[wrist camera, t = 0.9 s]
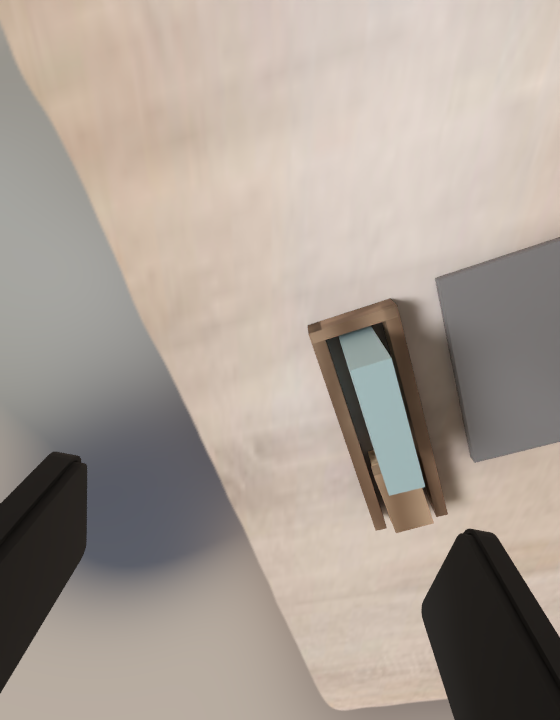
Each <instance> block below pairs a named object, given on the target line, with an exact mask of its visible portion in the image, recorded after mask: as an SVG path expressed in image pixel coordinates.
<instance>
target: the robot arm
mask: <svg viewBox="0 0 560 720" xmlns="http://www.w3.org/2000/svg"><path fill="white" fill-rule="evenodd" d="M86 525H87V465H86V464H84V463H81V458H80V457H79V456H76V455H71V454H65V453H60V452H52V453H51V454H49V455H48V456H47V457H46V458H45V459H44V460H43V461H42V462H41V463H40V464H39V465H38V466H37V468H36V469H34V470H33V471H32V472H31V473H30V474H29V475H28V476H27V477H26V478H25V479H24V481H23V482H22V483H21V484H20V485H19V486H18V487H17V488H16V489H15V490H14V491H13V492H12V493H11V494H10V495H9V496H8V497H7V498H6V499H5V500H4V501H3V502H2V503H0V693H1V691H2V690H3V688H4V686H5V685H6V683H7V681H8V679H9V678H10V676H11V675H12V673H13V671H14V670H15V668H16V666H17V665H18V663H19V661H20V660H21V658H22V656H23V655H24V653H25V651H26V650H27V648H28V646H29V645H30V643H31V642H32V640H33V638H34V636H35V635H36V633H37V632H38V630H39V628H40V626H41V625H42V623H43V622H44V620H45V618H46V617H47V615H48V613H49V612H50V610H51V608H52V607H53V605H54V603H55V602H56V600H57V598H58V597H59V595H60V593H61V592H62V590H63V588H64V587H65V585H66V583H67V582H68V580H69V578H70V577H71V575H72V574H73V572H74V570H75V568H76V567H77V565H78V564H79V562H80V560H81V558H82V556H83V554H84V551H85V548H86V533H87V526H86ZM422 618H423V622H424V625H425V628H426V631H427V634H428V637H429V640H430V644H431V647H432V650H433V653H434V656H435V659H436V662H437V666H438V669H439V672H440V675H441V678H442V681H443V685H444V688H445V691H446V694H447V697H448V700H449V703H450V707H451V709H452V713H453V716H454V719H455V720H560V637H559V636H558V634H557V632H556V631H555V629H554V628H553V626H552V624H551V623H550V621H549V620H548V618H547V616H546V615H545V613H544V612H543V610H542V608H541V607H540V605H539V604H538V602H537V600H536V599H535V597H534V595H533V594H532V592H531V591H530V589H529V587H528V586H527V584H526V583H525V581H524V579H523V578H522V576H521V575H520V573H519V571H518V570H517V568H516V567H515V565H514V563H513V562H512V560H511V559H510V557H509V555H508V554H507V552H506V551H505V549H504V547H503V546H502V544H501V543H500V541H499V539H498V538H497V537H496V535H495V534H493V533H491V532H485V531H480V530H474V529H467V530H465V532H464V533H463V534H462V533H461V534H459V535H458V536H457V538H456V540H455V542H454V544H453V546H452V547H451V549H450V551H449V553H448V555H447V557H446V559H445V561H444V563H443V565H442V566H441V568H440V570H439V572H438V574H437V576H436V578H435V580H434V582H433V584H432V585H431V587H430V589H429V591H428V593H427V595H426V597H425V599H424V601H423V603H422Z"/></svg>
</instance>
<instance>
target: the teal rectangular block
mask: <svg viewBox="0 0 560 720" xmlns="http://www.w3.org/2000/svg"><path fill="white" fill-rule="evenodd" d="M338 337H339V340H340V343H341V347H342V350H343V353H344V356H345V359H346V363H347V366H348V369H349V372H350V375H351V379H352V382H353V385H354V388H355V391H356V395H357V398H358V401H359V404H360V407H361V411H362V414H363V417H364V420H365V424H366V427H367V430H368V433H369V436H370V439H371V442H372V445H373V448H374V452H375V455H376V458H377V461H378V464H379V467H380V470H381V473H382V476H383V479H384V482H385V485H386V488H387V491H388V494H389V496H390V495H394V494H398V493H402V492H407V491H411V490H415V489H419V488H423V487H425V484H424V480H423V476H422V473H421V469H420V465H419V461H418V457H417V453H416V450H415V446H414V442H413V438H412V434H411V431H410V427H409V423H408V419H407V415H406V411H405V408H404V404H403V400H402V396H401V392H400V389H399V385H398V381H397V377H396V373H395V370H394V366H393V362H392V358H391V357H390V355H389V353H388V352H387V350H386V349H385V347H384V346H383V344H382V343H381V341H380V339H379V338H378V336H377V335H376V333H375V332H374V330H373V329H372V327H371V326H368V327H365V328H361V329H358V330H355V331H352V332H349V333H346V334H343V335H339V336H338Z"/></svg>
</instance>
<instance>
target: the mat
mask: <svg viewBox="0 0 560 720" xmlns="http://www.w3.org/2000/svg"><path fill="white" fill-rule="evenodd" d="M435 281H436V286H437V291H438V296H439V301H440V306H441V311H442V316H443V321H444V326H445V331H446V336H447V341H448V346H449V351H450V356H451V361H452V366H453V371H454V376H455V381H456V386H457V392H458V397H459V402H460V407H461V412H462V417H463V422H464V427H465V432H466V437H467V442H468V447H469V452H470V457H471V458H472V460H473V461H474V462H479V461H484V460H488V459H492V458H496V457H500V456H504V455H508V454H512V453H516V452H520V451H524V450H528V449H532V448H536V447H540V446H545V445H549V444H553V443H557V442H560V237H559V238H556V239H553V240H550V241H547V242H544V243H541V244H538V245H534V246H531V247H528V248H525V249H522V250H519V251H516V252H513V253H510V254H507V255H504V256H501V257H498V258H495V259H492V260H489V261H486V262H483V263H480V264H477V265H474V266H471V267H468V268H464V269H461V270H458V271H455V272H452V273H449V274H446V275H443V276H440V277H437V278H435Z"/></svg>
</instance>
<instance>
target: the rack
mask: <svg viewBox="0 0 560 720" xmlns="http://www.w3.org/2000/svg"><path fill="white" fill-rule="evenodd" d="M380 322H382V323H383V327H384V331H385V335H386V339H387V343H388V346H389V350H390V354H391V358H392V362H393V365H394V369H395V373H396V377H397V381H398V385H399V388H400V392H401V396H402V400H403V404H404V407H405V411H406V415H407V419H408V423H409V427H410V430H411V434H412V438H413V442H414V446H415V449H416V453H417V457H418V461H419V465H420V469H421V472H422V476H423V480H424V484H425V488H426V491H427V495H428V499H429V502H430V504H431V506H432V508H433V510H434V513H435V515H436V517H438V516H443V515H447V514H448V513H447V509H446V505H445V500H444V496H443V492H442V488H441V484H440V480H439V476H438V472H437V467H436V463H435V459H434V455H433V451H432V447H431V443H430V438H429V434H428V430H427V426H426V422H425V418H424V414H423V410H422V405H421V401H420V397H419V393H418V389H417V385H416V381H415V377H414V372H413V368H412V364H411V360H410V356H409V352H408V348H407V343H406V339H405V335H404V331H403V327H402V323H401V319H400V315H399V310H398V306H397V305H396V304H395V303H394V302H393V301H392V300H391V299H387V300H384V301H381V302H378V303H375V304H372V305H369V306H366V307H363V308H360V309H357V310H354V311H350V312H347V313H344V314H341V315H338V316H335V317H332V318H329V319H326V320H323V321H320V322H317V323H314V324H311V325H308V333H309V337H310V340H311V342H312V345H313V348H314V351H315V354H316V357H317V360H318V363H319V366H320V369H321V372H322V375H323V378H324V380H325V383H326V386H327V389H328V392H329V395H330V398H331V401H332V404H333V407H334V410H335V413H336V416H337V418H338V421H339V424H340V427H341V430H342V433H343V436H344V439H345V442H346V445H347V448H348V451H349V454H350V457H351V459H352V462H353V465H354V468H355V471H356V474H357V477H358V480H359V483H360V486H361V489H362V492H363V495H364V497H365V500H366V503H367V506H368V509H369V512H370V515H371V518H372V521H373V524H374V527H375V530H381V529H385V528H386V524H385V521H384V517H383V514H382V510H381V507H380V504H379V501H378V498H377V495H376V492H375V489H374V486H373V483H372V480H371V477H370V473H369V470H368V467H367V464H366V461H365V458H364V455H363V452H362V449H361V446H360V443H359V440H358V437H357V434H356V430H355V427H354V424H353V421H352V418H351V415H350V412H349V409H348V406H347V403H346V400H345V397H344V394H343V391H342V388H341V384H340V381H339V378H338V375H337V372H336V369H335V366H334V363H333V360H332V357H331V354H330V351H329V348H328V345H327V341H326V340H327V339H330V338H333V337H336V336H339V335H343V334H346V333H349V332H352V331H355V330H358V329H361V328H365V327H368V326H371V325H374V324H377V323H380Z"/></svg>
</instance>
